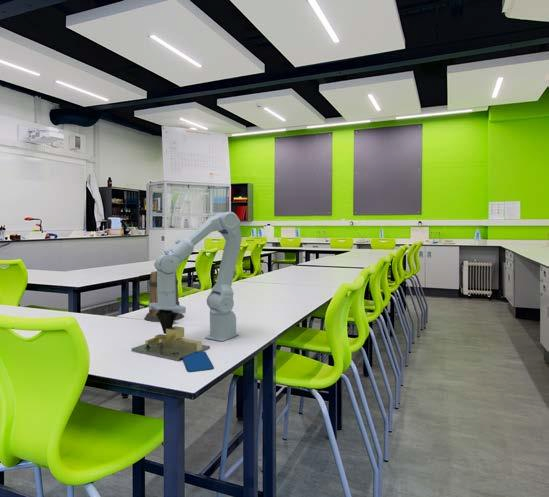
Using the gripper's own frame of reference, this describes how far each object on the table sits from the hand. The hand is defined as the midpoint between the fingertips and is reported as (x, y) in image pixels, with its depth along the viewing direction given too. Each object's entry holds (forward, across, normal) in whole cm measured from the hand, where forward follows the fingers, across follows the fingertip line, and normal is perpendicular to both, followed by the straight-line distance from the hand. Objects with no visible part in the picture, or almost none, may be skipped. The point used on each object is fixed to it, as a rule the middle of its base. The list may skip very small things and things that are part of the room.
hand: (167, 333), depth 130 cm
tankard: (+5, -30, +29) cm, 42 cm away
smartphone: (+5, +18, -7) cm, 20 cm away
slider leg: (+3, +4, -2) cm, 5 cm away
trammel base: (+4, +4, -2) cm, 6 cm away
